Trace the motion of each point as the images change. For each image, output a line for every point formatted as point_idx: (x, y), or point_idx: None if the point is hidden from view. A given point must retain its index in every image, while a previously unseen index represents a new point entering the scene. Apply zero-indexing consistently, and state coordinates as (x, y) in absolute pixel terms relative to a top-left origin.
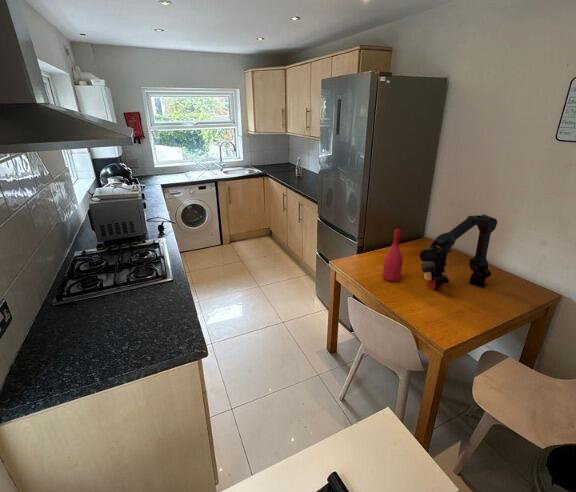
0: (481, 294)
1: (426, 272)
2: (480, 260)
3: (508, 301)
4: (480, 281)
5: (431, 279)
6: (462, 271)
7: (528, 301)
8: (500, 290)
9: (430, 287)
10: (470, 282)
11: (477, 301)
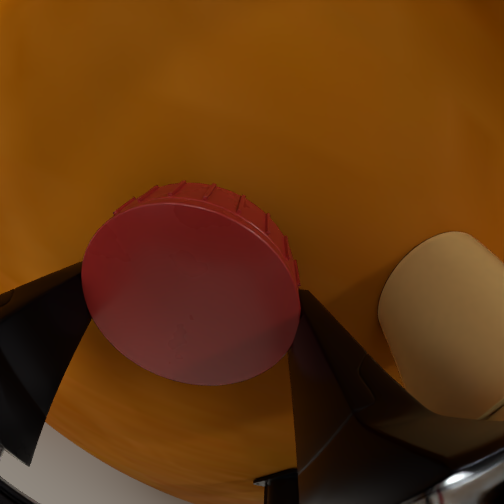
0: (183, 460)
1: (501, 302)
2: None
3: (156, 476)
4: (267, 499)
5: (391, 308)
6: None
7: (177, 493)
8: (234, 491)
9: (132, 200)
10: (296, 472)
11: (103, 423)
